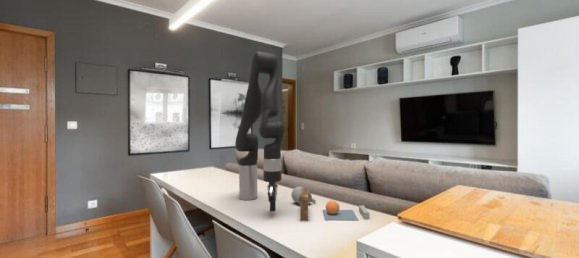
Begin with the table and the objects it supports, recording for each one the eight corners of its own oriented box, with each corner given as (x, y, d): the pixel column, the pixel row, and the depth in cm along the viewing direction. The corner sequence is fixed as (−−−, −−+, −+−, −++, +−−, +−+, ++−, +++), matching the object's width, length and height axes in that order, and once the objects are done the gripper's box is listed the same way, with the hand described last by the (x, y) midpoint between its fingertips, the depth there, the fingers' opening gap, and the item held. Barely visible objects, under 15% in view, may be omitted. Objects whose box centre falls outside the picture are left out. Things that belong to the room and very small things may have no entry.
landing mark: (324, 220, 107) (324, 219, 107) (322, 210, 120) (322, 209, 120) (358, 220, 107) (358, 219, 107) (352, 210, 120) (352, 209, 120)
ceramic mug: (299, 207, 125) (299, 190, 125) (291, 202, 132) (291, 186, 132) (319, 204, 130) (319, 188, 130) (310, 200, 137) (310, 185, 137)
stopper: (364, 219, 108) (364, 212, 108) (359, 211, 118) (359, 205, 118) (369, 219, 108) (369, 212, 108) (363, 211, 118) (363, 205, 118)
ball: (341, 200, 116) (341, 213, 115) (329, 198, 119) (329, 211, 119) (335, 202, 111) (335, 216, 111) (323, 201, 114) (323, 214, 114)
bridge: (300, 220, 107) (300, 196, 107) (300, 209, 122) (300, 188, 122) (308, 220, 107) (308, 196, 107) (307, 209, 122) (307, 188, 121)
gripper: (280, 171, 108) (280, 216, 108) (282, 166, 121) (282, 206, 121) (261, 171, 108) (261, 215, 109) (265, 166, 122) (265, 206, 122)
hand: (272, 210), depth 115 cm, fingers closed
